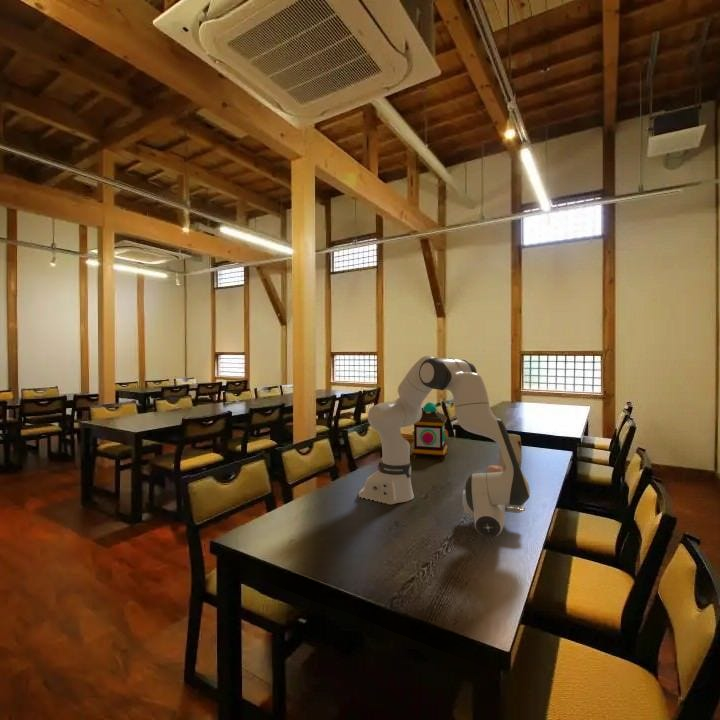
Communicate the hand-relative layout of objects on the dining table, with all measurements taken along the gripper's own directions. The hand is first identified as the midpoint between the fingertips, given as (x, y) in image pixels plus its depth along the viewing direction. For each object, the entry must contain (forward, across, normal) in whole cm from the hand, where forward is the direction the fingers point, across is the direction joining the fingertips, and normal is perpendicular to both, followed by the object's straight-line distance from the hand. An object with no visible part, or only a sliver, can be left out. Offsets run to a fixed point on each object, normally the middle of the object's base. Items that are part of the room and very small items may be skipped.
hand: (493, 492), depth 146 cm
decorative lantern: (+69, +37, +8) cm, 79 cm away
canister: (+12, 0, +8) cm, 14 cm away
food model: (+48, -5, +8) cm, 48 cm away
